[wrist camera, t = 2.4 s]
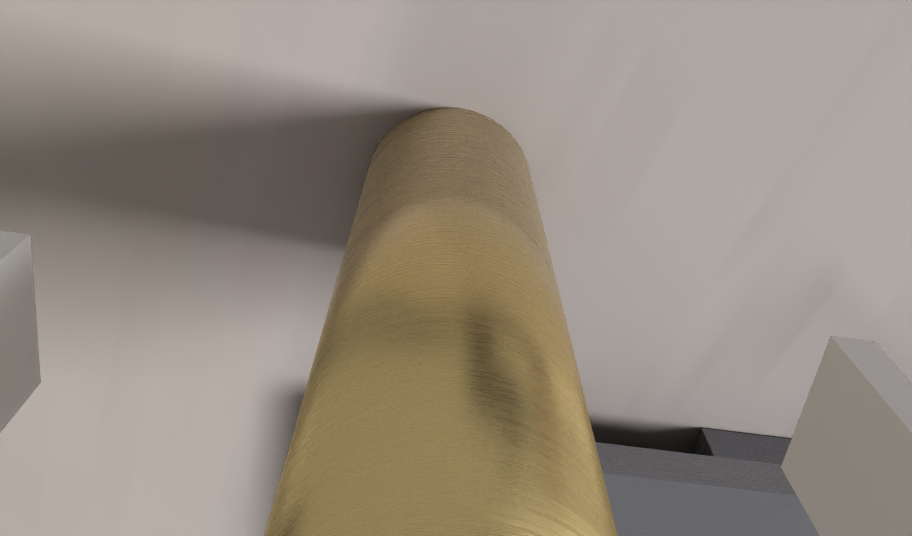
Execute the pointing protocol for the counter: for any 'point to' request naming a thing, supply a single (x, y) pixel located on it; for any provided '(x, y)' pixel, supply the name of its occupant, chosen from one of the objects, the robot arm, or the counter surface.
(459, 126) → the pin
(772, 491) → the grey slide latch
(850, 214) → the counter surface
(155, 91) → the counter surface
